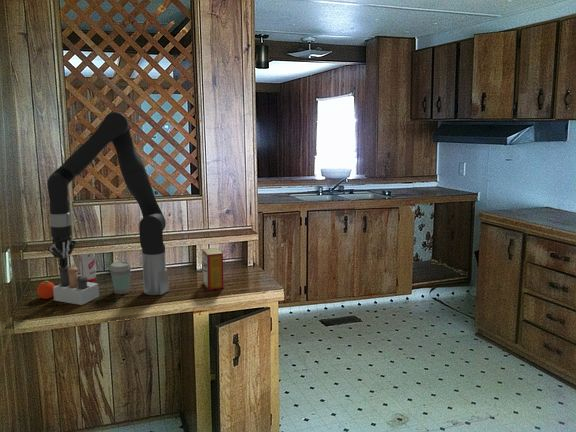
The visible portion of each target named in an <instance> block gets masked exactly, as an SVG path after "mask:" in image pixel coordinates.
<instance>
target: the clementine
mask: <svg viewBox="0 0 576 432" xmlns="http://www.w3.org/2000/svg"><path fill="white" fill-rule="evenodd" d="M55 286H56V285H55V284H54V282H51V281H49V280H44V281H42V282H41V283H39V284H38V286H37V288H36V293H37V295H38V296H39V297H40V298H41V299H44V300H47V299H51V298H52V297H54V293H53V287H55Z"/></svg>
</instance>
